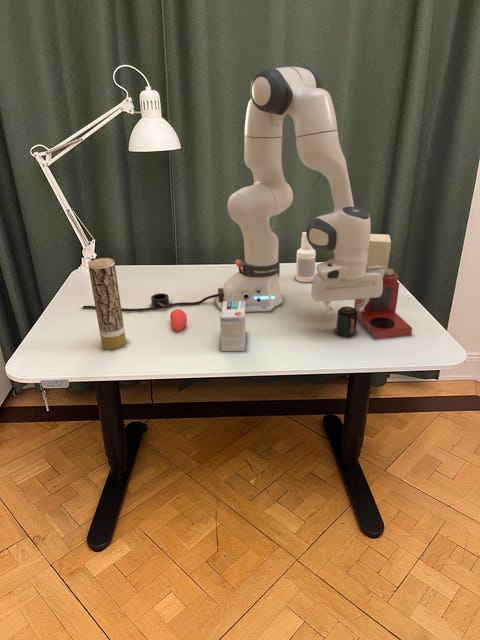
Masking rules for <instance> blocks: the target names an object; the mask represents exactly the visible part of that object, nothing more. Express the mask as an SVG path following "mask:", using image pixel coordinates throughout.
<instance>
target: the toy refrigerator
mask: <svg viewBox="0 0 480 640" xmlns="http://www.w3.org/2000/svg"><path fill="white" fill-rule="evenodd" d="M391 248H392V241H391V236H390V234H386V233H385V234H382V233H370V241H369V245H368V248H367V265H366V266H376V265H379V266H380V267H382V268H383V269H389V260H390V254H391ZM380 269H381V268H380Z"/></svg>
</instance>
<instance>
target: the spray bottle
mask: <svg viewBox="0 0 480 640" xmlns="http://www.w3.org/2000/svg"><path fill="white" fill-rule="evenodd" d="M300 240H301V241H300V248H297V250H296V264H295V265H296V266H295V267H296V268H295V279H296V281H297V282H300V283H311V282H313V279H314V277H315V275H316V273H315V271H316V255H317V252H316V251H317V250H316V249H314V248H313V247H312V246H311V245H310V244H309V242H308V240H307V236H306V231H305V232H303V231H302V232H301V239H300Z"/></svg>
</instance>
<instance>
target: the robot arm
mask: <svg viewBox="0 0 480 640" xmlns="http://www.w3.org/2000/svg"><path fill="white" fill-rule="evenodd" d="M249 88H250V89H249V95H250V100H248V104H247V107H246V115H245V121H244V134H243V135H244V136H243V137H244V138H243V140H244V142H243V145H244V146H243V148H244V149H243V153H244V154H243V161H244V164H245V166H246V167H247V168H248V169H250V171H251V173H252V177H253V184H250V185H248V186H247V185H246V186H244V187H241V188H239V189H238V190H237V191H235V192H233V193H232V194H231V195H230V196H229V198H228V200H227V206H226V207H227V212H228V215H229V217H230V218H231V220H232V221H233V222H234V223H236V224H237V225H238V227H239V229H240V231H241V234H242V238H243V251H244V259H243V260H241V259H238V258H237V259H235V262H234V263H235V266H236V267H238V271H237V272H236V273H235V274H234V275H232V276H231V277H230V278H228V279H227V280H225V282H224V283H223V286H222V287H219V288H217V293H216V294H212V295H209V296H206V297H204V298H202V299H201V300H198V301H193V302H172V303H169V304H167V305H168V306H169V307H168V308H170V307H176V306H195V305H200V304H203V303H204V302H205V301H207V300H210V299H213V298H215V302H216V306H217V307H218V309H219V310H221V311H222V302H223V301H245V313H246V312H247V313H249V312H251V313H252V312H254V313H256V312H270V311H272V310H273V309H274V308H275V307H278V306H279V305H281V304H282V302H283V296H282V292H281V287H280V279H279V277H280V273H281V264H280V260H279V237H278V235H277V234H276V233H275V232H274V231H272V227H271V224H270V219H271V218H273V217H275V216H278V215H280V214H282V213H283V212H285V211H286V210H287V209H288V208H289V207H290V206H291V205H292V203H293V201H294V193H293V189H292V187H291V186H290V184H289V183H288V182H287V180H286V178H285V175H284V169H283V163H282V162H283V161H282V156H283V155H282V154H283V153H282V152H283V151H282V150H283V127H284V126H283V125H284V119H285V117H286V116H287V114H288V115H289V116H290V117H291V119H292V121H293V125H294V137H295V144H296V151H297V155H298V158H299V160H300V162H301V163H302V164H303V165H304V166H306V167H307V168H309V169H310V170H313V171H314V172H315V171H316V172H318V173H320V174H322V175H323V176H325V178H326V179H327V181H328V184H329V187H330V192H331V198H332V201H333V206H334V207H333V208H334V209H333V212H329V213H325V214H322V215H319V216H316V217H314V218H312V219H310V221H308V224H307V226H306V231H305V232H306V236H307V240H308V242H309V244H310V245H311V246H312V249H314V250H315V251H321V252H333V253H334V256H333V258H331V259H328V260H326V261H324V262H320V263H318V264H316V267H315V270H316V272H317V273H315V276H314V279H313V281H312V284H311V289H310V290H311V291H310V295H311V297H312V299H313V300H314V301H315V302H317V303H323V304H324V307H325V313H326V315H333V312H334V308H333V307H332V306H329V305H330V304H331V302H336V301H349V300H355V299H363V300H362V302H361V303H360V304H357V311H358V312H363V311H364V306H366V304H367V303H368V302H369V298H376V297H380V296H381V295H382V291H383V279H382V278H383V277H384V269H383V268H382V267H380V266H379V265H376V266H366V265H367V248H368V245H369V241H370V234H371V229H372V228H371V227H372V225H371V217H370V214H369V212H368V211H366V210H365V209H363V208H361V207H358V205H357V202H356V197H355V192H354V186H353V182H352V181H353V180H352V176H351V171H350V167H349V163H348V160H347V158H346V156H345V154H344V153H343V150H342V147H341V144H340V139H339V131H338V123H337V116H336V110H335V107H334V103H333V99H332V97H331V95H330V93H329V92H328V90H326V89H324V88H323V81H322V78H321V75H319V73H318V72H317V71H315V70H314V69H311V68H309V67H306V66H305V67H304V66H301V67H299V66H292V65H291V66H290V65H287V66H283V67H276V68H275V67H268V68H265V69H262V70H260V71H258V72H257V73H256V74H255V75H254V77H253V78H252V81H251V82H250V87H249ZM380 268H381V269H380ZM82 307H83V309H95V310H96V308H95V305H88V306H83V305H82ZM165 308H167V307H163V306H158V307H152V306H151V307H141V308H139V307H138V308H123V307H121V310H122V312H146V311H155V310H160V309H165Z"/></svg>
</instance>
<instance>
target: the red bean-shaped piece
mask: <svg viewBox="0 0 480 640" xmlns="http://www.w3.org/2000/svg"><path fill="white" fill-rule="evenodd" d="M187 316H188V315H187V313H186V312H185V311H184V310H183V309H180V308H175V309H173V310H172V311H171V312H170V314H169V318H170V322H171V327H172V328H173V330H175V331H181V330H183V329H184V328H185V327H186V326H187V322H188V317H187Z"/></svg>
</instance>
